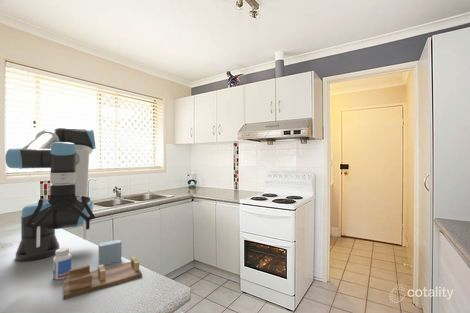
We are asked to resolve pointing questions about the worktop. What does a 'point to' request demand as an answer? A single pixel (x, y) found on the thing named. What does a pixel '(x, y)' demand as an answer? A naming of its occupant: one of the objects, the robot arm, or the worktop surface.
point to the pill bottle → (61, 263)
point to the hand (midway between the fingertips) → (62, 242)
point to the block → (109, 252)
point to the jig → (99, 277)
